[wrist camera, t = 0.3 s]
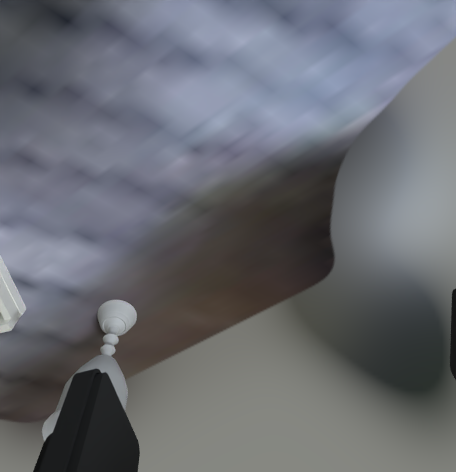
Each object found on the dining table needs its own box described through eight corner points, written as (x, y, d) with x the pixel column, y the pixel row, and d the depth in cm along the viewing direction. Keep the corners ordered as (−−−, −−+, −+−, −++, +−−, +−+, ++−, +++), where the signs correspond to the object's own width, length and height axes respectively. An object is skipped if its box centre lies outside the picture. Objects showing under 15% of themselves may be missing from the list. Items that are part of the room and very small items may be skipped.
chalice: (86, 334, 52) (41, 458, 36) (89, 290, 50) (42, 402, 33) (142, 339, 53) (123, 461, 37) (148, 297, 51) (130, 408, 34)
